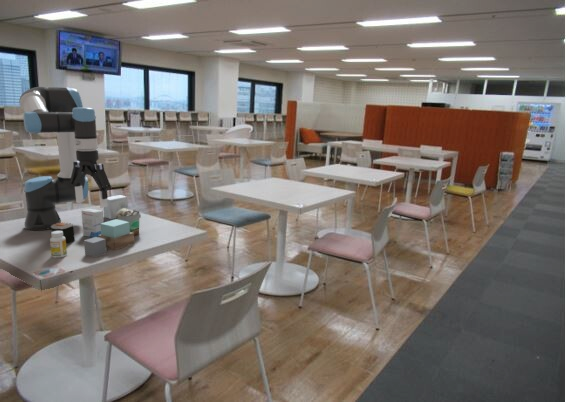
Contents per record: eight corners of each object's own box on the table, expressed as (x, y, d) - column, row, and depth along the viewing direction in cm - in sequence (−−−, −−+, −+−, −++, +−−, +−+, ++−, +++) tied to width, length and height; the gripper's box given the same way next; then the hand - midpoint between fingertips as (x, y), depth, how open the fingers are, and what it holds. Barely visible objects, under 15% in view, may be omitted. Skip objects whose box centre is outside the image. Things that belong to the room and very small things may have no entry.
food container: (132, 239, 180) (131, 217, 178) (119, 238, 181) (118, 216, 179) (147, 231, 192) (145, 210, 189) (135, 230, 193) (133, 209, 191)
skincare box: (111, 219, 209) (109, 199, 206) (103, 217, 212) (102, 197, 210) (128, 215, 217) (127, 196, 215) (121, 213, 221) (119, 194, 218)
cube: (85, 254, 161) (83, 240, 160) (97, 250, 166) (95, 236, 164) (94, 257, 159) (93, 243, 157) (106, 253, 163) (105, 239, 162)
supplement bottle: (55, 259, 156) (52, 235, 154) (49, 255, 159) (46, 232, 157) (69, 255, 160) (67, 232, 158) (63, 252, 163) (61, 229, 161)
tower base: (98, 246, 171) (98, 235, 170) (118, 239, 180) (117, 229, 179) (115, 250, 167) (114, 239, 166) (134, 243, 176) (133, 232, 174)
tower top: (101, 234, 170) (100, 223, 169) (117, 230, 177) (116, 219, 176) (114, 238, 167) (113, 226, 166) (129, 233, 174) (129, 222, 172)
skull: (145, 220, 206) (134, 208, 198) (133, 237, 201) (121, 226, 193) (129, 215, 212) (117, 204, 204) (117, 232, 207) (105, 221, 199)
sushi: (63, 245, 170) (61, 227, 168) (48, 242, 173) (46, 224, 171) (78, 239, 178) (77, 222, 176) (64, 237, 180) (62, 220, 179)
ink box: (105, 235, 184) (103, 210, 182) (96, 238, 180) (94, 212, 177) (92, 232, 188) (89, 207, 185) (82, 235, 184) (80, 210, 181)
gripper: (56, 148, 155) (61, 202, 160) (101, 153, 144) (106, 211, 149) (74, 146, 161) (79, 198, 166) (118, 151, 150) (122, 207, 155)
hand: (91, 204), depth 157 cm, fingers open, 13 cm apart
